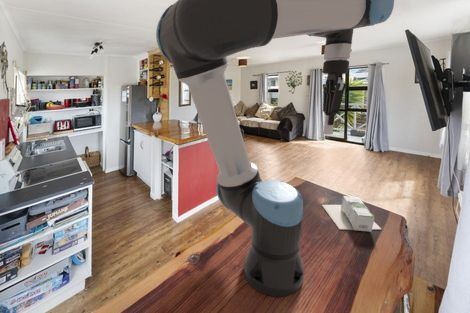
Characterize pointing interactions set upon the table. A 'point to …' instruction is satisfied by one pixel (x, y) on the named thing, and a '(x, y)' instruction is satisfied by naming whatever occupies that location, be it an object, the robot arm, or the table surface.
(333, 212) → the mat
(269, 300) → the table surface
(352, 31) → the robot arm
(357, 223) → the syrup box
